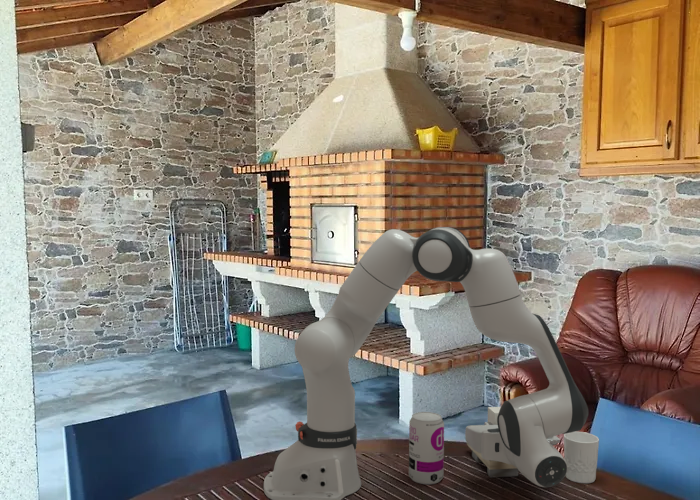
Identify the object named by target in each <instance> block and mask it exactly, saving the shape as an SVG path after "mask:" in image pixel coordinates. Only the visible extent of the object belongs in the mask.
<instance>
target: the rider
mask: <svg viewBox="0 0 700 500" xmlns="http://www.w3.org/2000/svg"><path fill="white" fill-rule="evenodd" d="M500 408H501V406H488V407H487V422H491V423H492V424H493V425H498V423H497V417H498V414H499V411H500Z"/></svg>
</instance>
